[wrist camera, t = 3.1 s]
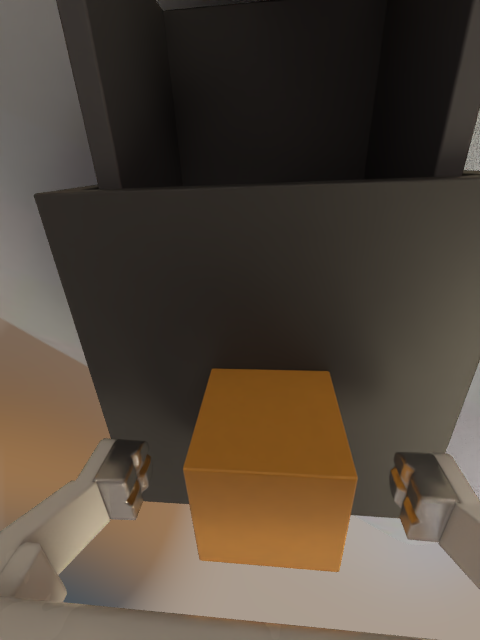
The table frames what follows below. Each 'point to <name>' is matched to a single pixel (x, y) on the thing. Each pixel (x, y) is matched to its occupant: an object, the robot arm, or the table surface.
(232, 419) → the block
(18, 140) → the table surface
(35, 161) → the table surface
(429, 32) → the drawer
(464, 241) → the dark grey open box
